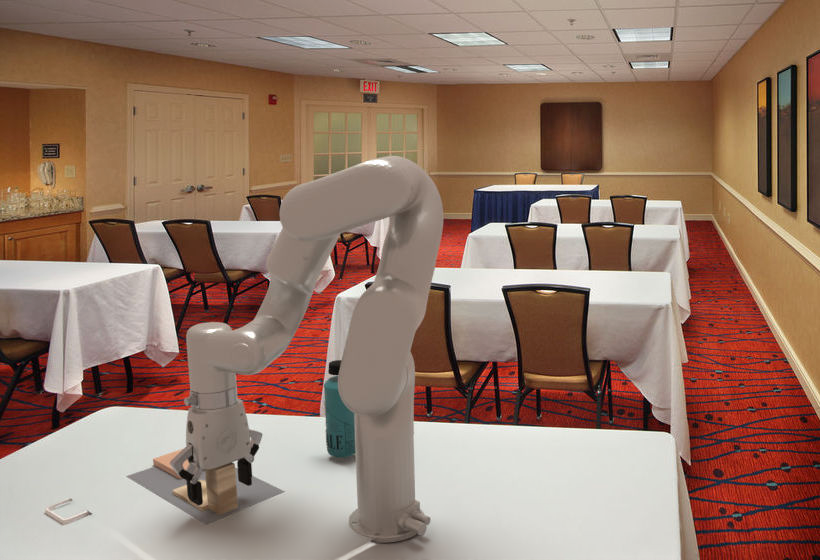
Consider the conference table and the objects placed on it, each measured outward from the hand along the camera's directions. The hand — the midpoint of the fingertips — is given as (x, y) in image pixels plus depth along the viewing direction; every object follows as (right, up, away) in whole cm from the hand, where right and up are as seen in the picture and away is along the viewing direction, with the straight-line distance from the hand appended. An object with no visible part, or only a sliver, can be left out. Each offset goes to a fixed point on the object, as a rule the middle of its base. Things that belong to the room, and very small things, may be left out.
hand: (221, 492), depth 135 cm
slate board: (-6, -2, +10) cm, 12 cm away
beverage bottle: (+19, +1, +22) cm, 29 cm away
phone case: (-24, -4, +6) cm, 25 cm away
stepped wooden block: (-3, -2, +4) cm, 6 cm away
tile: (-8, 0, +15) cm, 17 cm away
